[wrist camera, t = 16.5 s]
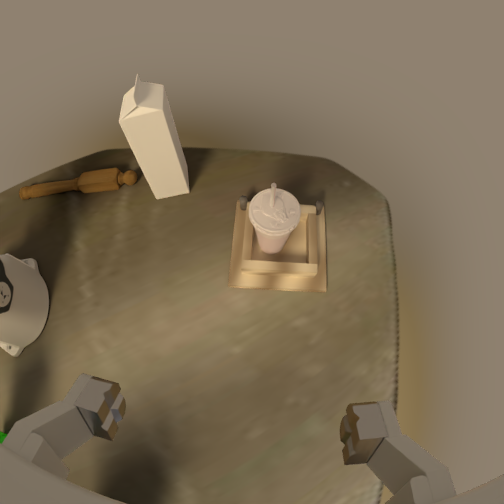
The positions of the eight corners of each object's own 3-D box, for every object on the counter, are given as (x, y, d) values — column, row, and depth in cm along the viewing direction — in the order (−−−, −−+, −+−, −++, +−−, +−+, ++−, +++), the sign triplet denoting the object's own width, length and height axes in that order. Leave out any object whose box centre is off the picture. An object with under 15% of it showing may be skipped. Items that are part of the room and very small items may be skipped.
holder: (228, 287, 43) (226, 279, 40) (237, 204, 49) (236, 192, 46) (325, 292, 43) (330, 285, 40) (322, 209, 48) (327, 197, 45)
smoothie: (274, 216, 47) (280, 157, 34) (301, 246, 45) (318, 193, 32) (241, 239, 45) (235, 184, 32) (268, 271, 43) (273, 224, 30)
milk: (156, 200, 50) (108, 104, 29) (156, 173, 52) (115, 78, 32) (190, 192, 50) (156, 91, 30) (188, 166, 52) (158, 66, 32)
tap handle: (21, 184, 50) (135, 165, 49) (28, 191, 53) (140, 175, 52) (16, 195, 49) (131, 178, 48) (24, 202, 51) (137, 188, 51)
